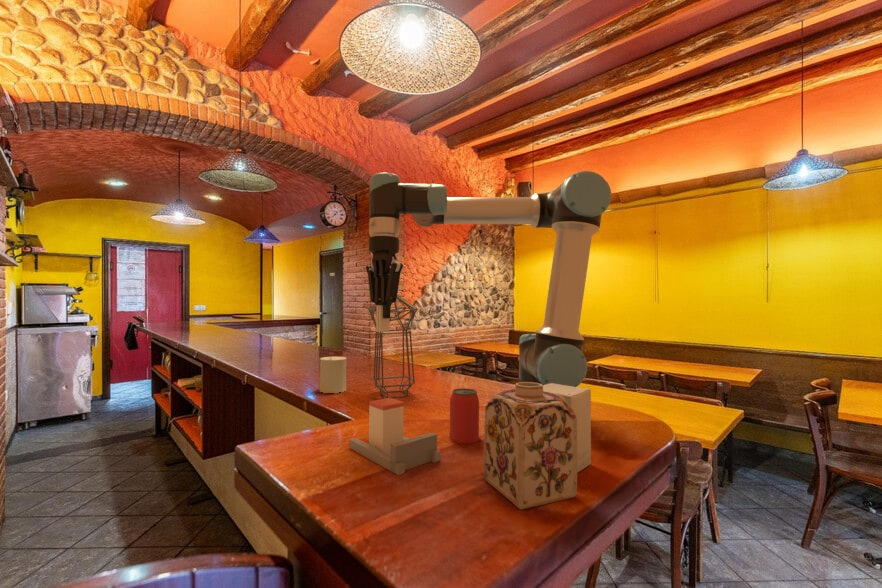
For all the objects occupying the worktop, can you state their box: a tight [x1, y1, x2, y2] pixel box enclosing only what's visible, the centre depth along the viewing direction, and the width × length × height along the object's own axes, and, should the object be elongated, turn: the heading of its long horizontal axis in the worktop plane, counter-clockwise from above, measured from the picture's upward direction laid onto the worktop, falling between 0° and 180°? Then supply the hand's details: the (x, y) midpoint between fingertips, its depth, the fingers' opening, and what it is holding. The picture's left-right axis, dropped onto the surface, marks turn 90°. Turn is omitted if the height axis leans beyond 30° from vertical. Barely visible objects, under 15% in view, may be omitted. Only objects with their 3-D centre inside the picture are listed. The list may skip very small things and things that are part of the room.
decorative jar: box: [483, 381, 578, 510], centre depth 68 cm, size 12×12×18 cm
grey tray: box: [349, 432, 441, 476], centre depth 78 cm, size 20×12×6 cm, turn 42°
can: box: [318, 355, 347, 394], centre depth 140 cm, size 9×9×12 cm
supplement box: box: [543, 383, 592, 474], centre depth 78 cm, size 9×9×15 cm
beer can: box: [448, 387, 480, 444], centre depth 88 cm, size 7×7×12 cm
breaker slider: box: [368, 398, 405, 455], centre depth 80 cm, size 5×5×10 cm
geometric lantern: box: [367, 294, 420, 398], centre depth 135 cm, size 16×16×35 cm
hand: (382, 331), depth 98 cm, fingers closed
